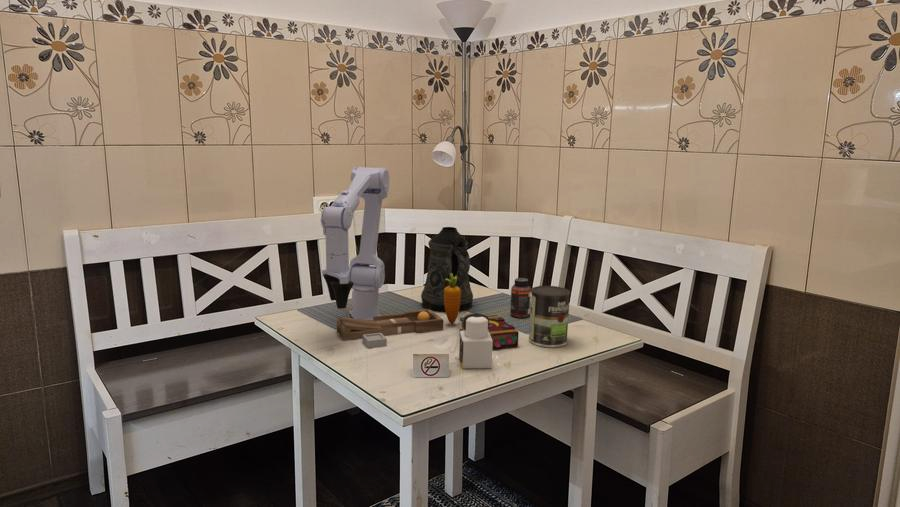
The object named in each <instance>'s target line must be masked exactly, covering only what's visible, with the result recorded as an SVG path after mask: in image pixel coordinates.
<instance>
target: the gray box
mask: <svg viewBox="0 0 900 507" xmlns="http://www.w3.org/2000/svg"><path fill="white" fill-rule="evenodd" d="M387 340H388V339H387V338H386V336H384V335H383V334H382V333H374V334H366V335H363V338H362V343H363V344H364V345H365V347H366V348H367V349H370V348H371V349H372V348H380V347H386V346H387V345H388V343H387V342H388V341H387Z"/></svg>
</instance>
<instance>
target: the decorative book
mask: <svg viewBox="0 0 900 507" xmlns="http://www.w3.org/2000/svg"><path fill="white" fill-rule="evenodd" d="M486 316H487V317H488V318H489V333H490V336H491V338H492V340H493V346H492V350H494V349H500V348H501V349H502V348H512V347H519V346H518V345H519V335H520V334H519V331H518V329H517V330H516V327H515V326H514V325H512V324H509V323H508V322H506V320H505V318H504V317H500V316H498V315H497V314H494V315H486ZM464 317H465V316H464ZM464 317H459V321H460V322H461V329H459V333H460V331H463V330H464Z"/></svg>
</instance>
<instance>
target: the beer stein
mask: <svg viewBox="0 0 900 507" xmlns="http://www.w3.org/2000/svg"><path fill="white" fill-rule="evenodd" d="M468 245H469V243H468V241H467V239H466V238H465V237H464V235H462V234H461V233H460V232H459V230H457V227H453V226H443V227H442V229H441V230H440V231H439V233H437V234H436V235H434V236H433V237H431V238H430V239H429V240H428V247H429V249H430V252H429V254H430V255H429V260H428V267H427V272H426V274H427V275H426V277H425V278H426V280H425V283H424V287H423V289H422V291H421V295H420V298H421V303H422V306H424V307H425V308H424V307H423V308H424V309H426V308H427V309H430V310H432V311H433V312H435V311H436V312H435V313H445V314H446V311H445V305H444V289H445V288H446V287H448V286H450V284H449V282H448V281H446V280H445V279H446V278H447V279H449V280H451V277H450V273H452V274H453V277H455V276H457V281H456V284H455V286H458V287H459V288H460V289H461V302H460V309H459V313H460V312H465V311H466V310H469V309H471V307H472V304H473V301H474V294H473V291H472V288H471V284H470V278H469V276H470V275H469V273H470V272H469V271H470V269H471V268H470V267H471V257H470V254H469V252H468ZM451 281H452V280H451ZM427 309H426V310H427Z"/></svg>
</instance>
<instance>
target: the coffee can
mask: <svg viewBox="0 0 900 507" xmlns="http://www.w3.org/2000/svg"><path fill="white" fill-rule="evenodd" d="M570 297H571V290H570V289H568V288H564V287H563V286H562V287H561V286H556V285H555V286H554V285H538V286H533V287H532V288H531V299H530V315H529V333H528V334H529V335H528V341H529V343H531V344H532V345H534V344H535V346H537V345H538V347H541V346H542V347H543V348H561V347H564V346H565V345H567V343H568V328H569V314H570V313H569V312H570V302H571V301H570V300H571V299H570Z"/></svg>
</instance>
